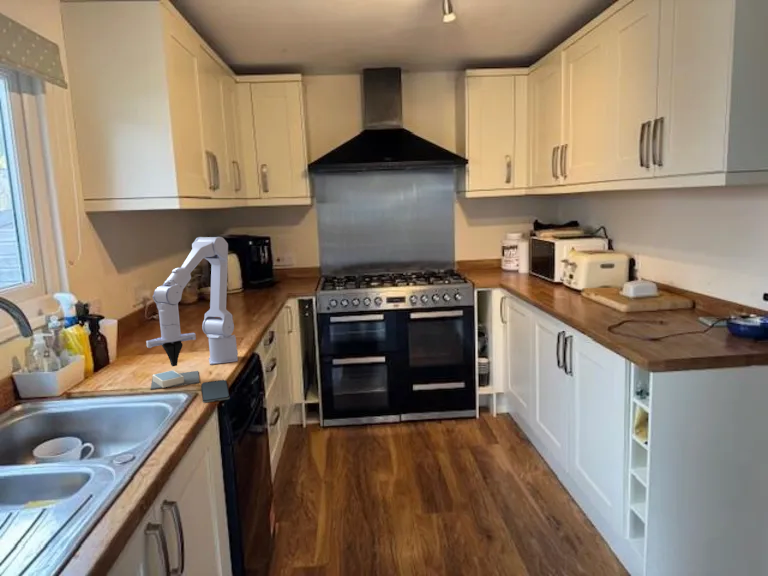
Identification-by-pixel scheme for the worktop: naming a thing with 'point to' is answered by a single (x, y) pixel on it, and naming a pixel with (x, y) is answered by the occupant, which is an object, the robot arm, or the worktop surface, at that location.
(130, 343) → the worktop surface
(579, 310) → the worktop surface
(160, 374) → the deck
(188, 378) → the mat
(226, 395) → the smartphone
